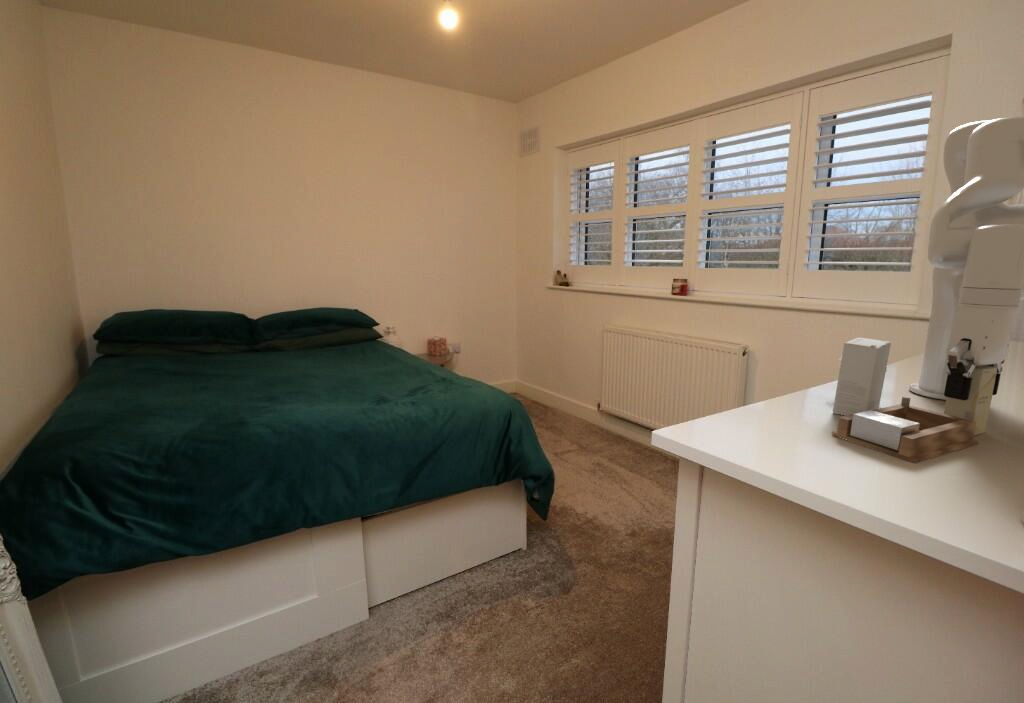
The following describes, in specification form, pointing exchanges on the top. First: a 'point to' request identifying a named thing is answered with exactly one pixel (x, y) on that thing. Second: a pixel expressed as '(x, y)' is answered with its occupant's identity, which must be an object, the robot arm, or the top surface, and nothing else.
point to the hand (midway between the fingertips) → (970, 395)
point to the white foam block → (881, 428)
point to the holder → (920, 432)
